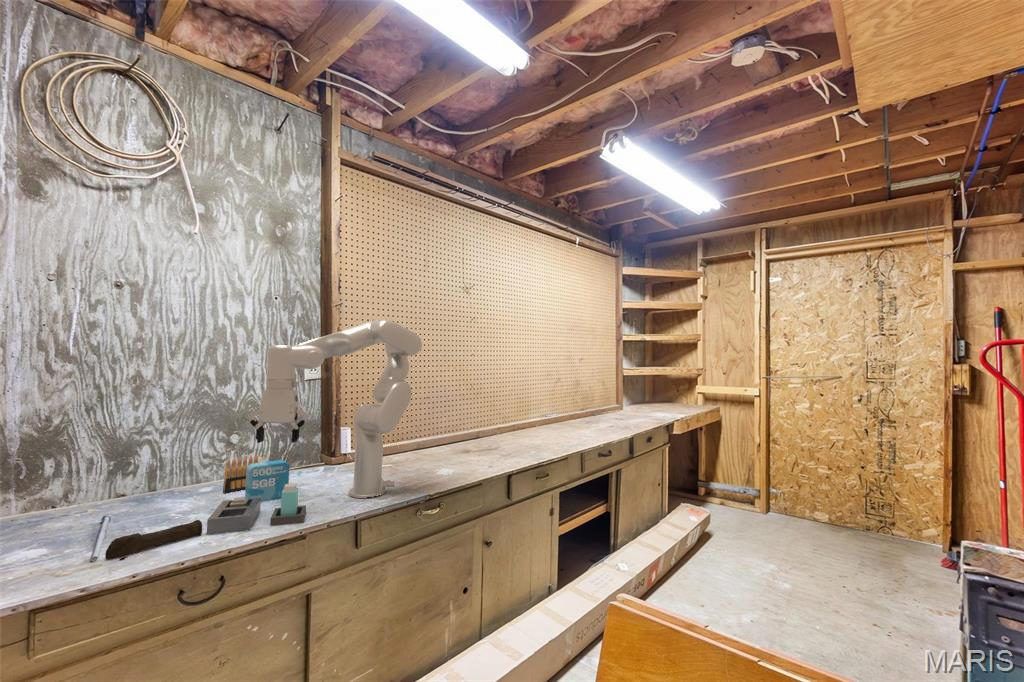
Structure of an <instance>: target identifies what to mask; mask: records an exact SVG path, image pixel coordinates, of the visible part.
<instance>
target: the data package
mask: <svg viewBox="0 0 1024 682" xmlns="http://www.w3.org/2000/svg"><path fill="white" fill-rule="evenodd" d="M289 480H290V463H288V462H287V461H285V460H283V459H278V460H273V461H272V460H271V461H261V462H258V463H254V462H253V464H250V465H249V466H248V465H247V470H246V487H245V490H244V497H246V499H251V498H261V503H262V502H267V501H272V500H279V499H281V498H282V491H283V489H284V486H285V484H290V483H289V482H290V481H289Z"/></svg>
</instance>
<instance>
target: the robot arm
mask: <svg viewBox="0 0 1024 682" xmlns="http://www.w3.org/2000/svg"><path fill="white" fill-rule="evenodd" d="M377 344H384V350H385V351H386V355H387V364H386V366H385V368H384V370H383V372H382V373H381V375H380V377H379V379H378V380H377V382H376V384H375V385H374V387H373V389H372V391H371V393H372V398H373V400H374V402H376V403H379V404H375V403H366V404H362V405H360V406H359V407H358V408H357V409H356V410H355V412H354V415H353V426H354V436H355V438H354V439H355V443H354V444H355V447H354V464H353V465H354V466H353V468H354V469H353V486H352V488H350V489H348V496H349V497H350V498H354V499H355V498H356V499H368V498H367V497H372V498H375V497H374V496H377V495H380V494H382V495H384V494H385V493H386V488H387V487H389V488H393V487H394V488H395V486H396V482H395V481H394V480H391V479H389V480H385V479H383V477H382V474H383V454H384V438H383V435H386V434H390V433H391V432H392V431H394V429H395V428H396V427H397V426H398V425H399V422H400V420H401V419H402V417H403V415H404V413H406V412H405V411H406V410H407V408H408V406H409V405H410V402H411V399H412V394H413V393H412V392H413V391H412V387H411V384H409V383H408V381H405V380H406V378H407V377H408V375H409V372H410V362H409V357H410V356H416V355H418V353H420V352H421V350H422V348H423V347H422V346H423V341H422V339H421V337H420V335H418V334H417V333H416V332H414V331H412V330H410V329H408V328H406V327H404V326H403V325H400V324H399V323H397V322H395V321H393V320H390V319H373V320H369V321H367V322H364V323H360V324H358V325H355V326H352V327H349V328H346V329H343V330H340V331H336V332H333V333H330V334H327V335H324V336H320V337H317V338H314V339H309V340H306V341H304V342H301V343H299V344H296V345H295V344H294V345H291V344H290V345H289V344H287V345H286V344H273V345H269V347H268V349H267V363H266V364H267V365H266V383H265V386H266V387H265V389H263V392H262V394H261V400H260V405H259V408H258V409H256V410H254V411H251V412H250V413H248V414H247V418H248V420H249V423H250V425H251V426H253V428H254V430H255V439H256V443H257V444H260V443H262V442H264V440H265V428H264V426H265V425H266V424H290V425H291V427H292V428H293V429H292V430H291V443H292V444H293V443H297V442H298V440H299V439H300V429H301V428H302V427H303V426H304V425H305V424H306V423H307V421H308V419H309V418H310V414H309V413H308V412H306V411H304V410H302V409H300V403H299V394H298V390H297V389H295V388H296V387H299V386H300V382H299V381H296V379H295V376H296V374H295V372H296V369H303V370H313V369H314V370H315V369H317V368H319V367H320V366H321V365H322V364H323V363H324V361H325V359H328V358H332V357H333V358H334V357H341V356H347V355H351V354H354V353H357V352H359V351H362V350H364V349H367V348H369V347H372V346H374V345H377ZM408 356H409V357H408ZM257 415H258V420H259V421H258V420H257V419H256V416H257ZM300 416H301V417H302V418H301V420H300V421H298V420H299V417H300ZM384 492H385V493H384ZM383 493H384V494H383ZM380 496H381V495H380ZM377 497H378V496H377Z"/></svg>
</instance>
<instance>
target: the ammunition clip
mask: <svg viewBox="0 0 1024 682" xmlns="http://www.w3.org/2000/svg"><path fill="white" fill-rule="evenodd" d="M254 463H259V457H258V454H257V453H256V454H255V456H254V458H253V455H249V458H248V459H247V455H244V458H243V462H242V457H241V456H239V457H238V459H237V460H236V458H235V457H233V458H232V461H231V459H230V458H229V457H228V458H227V460H226V465H225V470H224V480H223V487H222V493H223V494H225V495H226V493H227V494H231V492H232V493H236V491H237V492H242V491H241V490H243V491H245V487H246V470H247V467H248V466H249V465H250V464H254Z"/></svg>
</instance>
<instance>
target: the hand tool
mask: <svg viewBox="0 0 1024 682" xmlns="http://www.w3.org/2000/svg"><path fill="white" fill-rule="evenodd" d="M202 534H203V522H202V521H201V520H200V519H195V520H193V521H192V522H188V523H185V524H183V523H182V524H180V525H175V526H172V527H170V528H166V529H162V530H158V531H154V532H149V533H145V534H141V533H139V532H137V533H133V534H129V535H123V536H120V537H116V538H114V539H113V540H112V541H111V543H110V544H109V545H108V547H107V549H106V550H105V554H104V555H105V560H111V559H112V558H113V559H117V557H119V558H122V556H123V557H127V556H131V555H134V554H133V553H136V554H138V553H139V552H141V551H142V550H146V549H149V548H152V547H156V546H160V545H163V544H166V543H167V544H168V543H170V542H176V541H178V540H183V539H186V538H190V537H194V536H196V535H197V536H198V535H202ZM137 552H138V553H137ZM130 554H131V555H130ZM126 555H127V556H126Z"/></svg>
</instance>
